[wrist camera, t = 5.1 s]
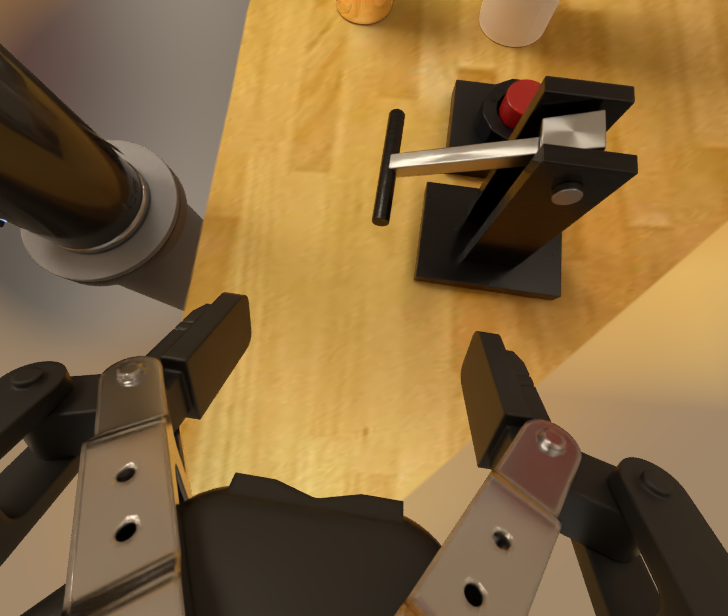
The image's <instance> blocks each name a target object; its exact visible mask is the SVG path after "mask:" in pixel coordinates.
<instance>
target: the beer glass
mask: <svg viewBox="0 0 728 616" xmlns="http://www.w3.org/2000/svg"><path fill="white" fill-rule="evenodd" d="M392 2H393V0H336V4H337V8H338V11H339V12H340V14H341V15H342V16H343V17H344V18H346V19H347V20H349V21H351V22H353V23H357V24H372V23H375V22H378V21H380V20H382V19H383V18H384V17H386V16H387V15H388V13H389V12H390V10H391V7H392Z"/></svg>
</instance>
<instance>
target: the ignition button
mask: <svg viewBox="0 0 728 616" xmlns="http://www.w3.org/2000/svg"><path fill="white" fill-rule="evenodd" d="M540 85H541V84H540V83H539V82H536V81H533V80H520V81H517V82H515V83H513V84H512V85H511V86H510V87H509V89H508V91H507V93H506V95H505V97H504V99H503V101H502V103H501V105H500V107H499V116H500V119H501V121H502V122H503V123H504V124H505V125H507V126H508V127H510V128H512V129H513V130H514V129H515V127H516V126H517V124H518V122H519V121H520V119H521V117H522V115H523V114H524V112H525V110H526V109H527V107H528V105H529V104H530V102H531V100H532V99H533V97H534V95H535V93H536V92H537V90H538V88H539V87H540Z"/></svg>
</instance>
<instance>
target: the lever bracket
mask: <svg viewBox="0 0 728 616" xmlns="http://www.w3.org/2000/svg"><path fill="white" fill-rule="evenodd" d="M634 102H635V95H634V87H633V86H626V85H618V84H610V83H601V82H593V81H585V80H577V79H569V78H560V77H552V76H546V77H545V78H544V80H543V82H542V83H541V85H540V87H539V88H538V90H537V92H536V93H535V95H534V97H533V99H532V100H531V102H530V104H529V105H528V107H527V109H526V110H525V112H524V114H523V115H522V117H521V119H520V121H519V122H518V124H517V126H516V127H515V129H514V131H513V132H512V134H511V136H510V137H509V139H508V141H509V140H518V139H527V138H535V137H539V132H540V127H541V122H542V119H543V118H548V117H555V116H563V115H570V114H577V113H585V112H592V111H600V110H605V111H606V132H607V131H608V130H609V129H610V127H611V126H612V125H613V124H614V123H615V122H616V121H617V120H618V119H619V118H620V117H621V116H622V115H623V114H624V113H625V112H626V111H627V110H628V109H629V108H630V107H631V106H632V105H633V104H634ZM636 174H638V162H637V155H630V154H623V153H615V152H607V151H599V150H592V149H584V148H576V147H568V146H561V145H553V144H545V143H544V144H543V145H542V146H541V147H540V149H539V150H538V151H537V153H536V154H535V155H534V157H533V158H532V159H531V161H530V162H529V163H528V165H527V166H523V167H511V168H500V169H491V170H490V171H489V173H488V175H487V176H486V178H485V180H484V182H483V183H482V185H481V187H480V188H479V189H478V188H470V187H463V186H455V185H448V184H440V183H433V182H427V185H426V188H425V193H424V201H423V209H422V217H421V225H420V233H419V241H418V249H417V257H416V265H415V273H414V280H416V281H423V282H430V283H437V284H444V285H451V286H457V287H464V288H471V289H478V290H485V291H492V292H499V293H506V294H512V295H519V296H526V297H533V298H540V299H547V300H554V299H557V298H559V297H560V296H561V243H562V231H563V230H565V229H566V228H567V227H569V226H570V225H571V224H573V223H574V222H575V221H577V220H578V219H579V218H580V217H582V216H583V215H584V214H586V213H587V212H588V211H590V210H591V209H592V208H593V207H595V206H596V205H597V204H599V203H600V202H601V201H603V200H604V199H605V198H606V197H608V196H609V195H610V194H612V193H613V192H614V191H616V190H617V189H618V188H619V187H621V186H622V185H623V184H625V183H626V182H627V181H629V180H630V179H631V178H633V177H634V176H635V175H636Z"/></svg>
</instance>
